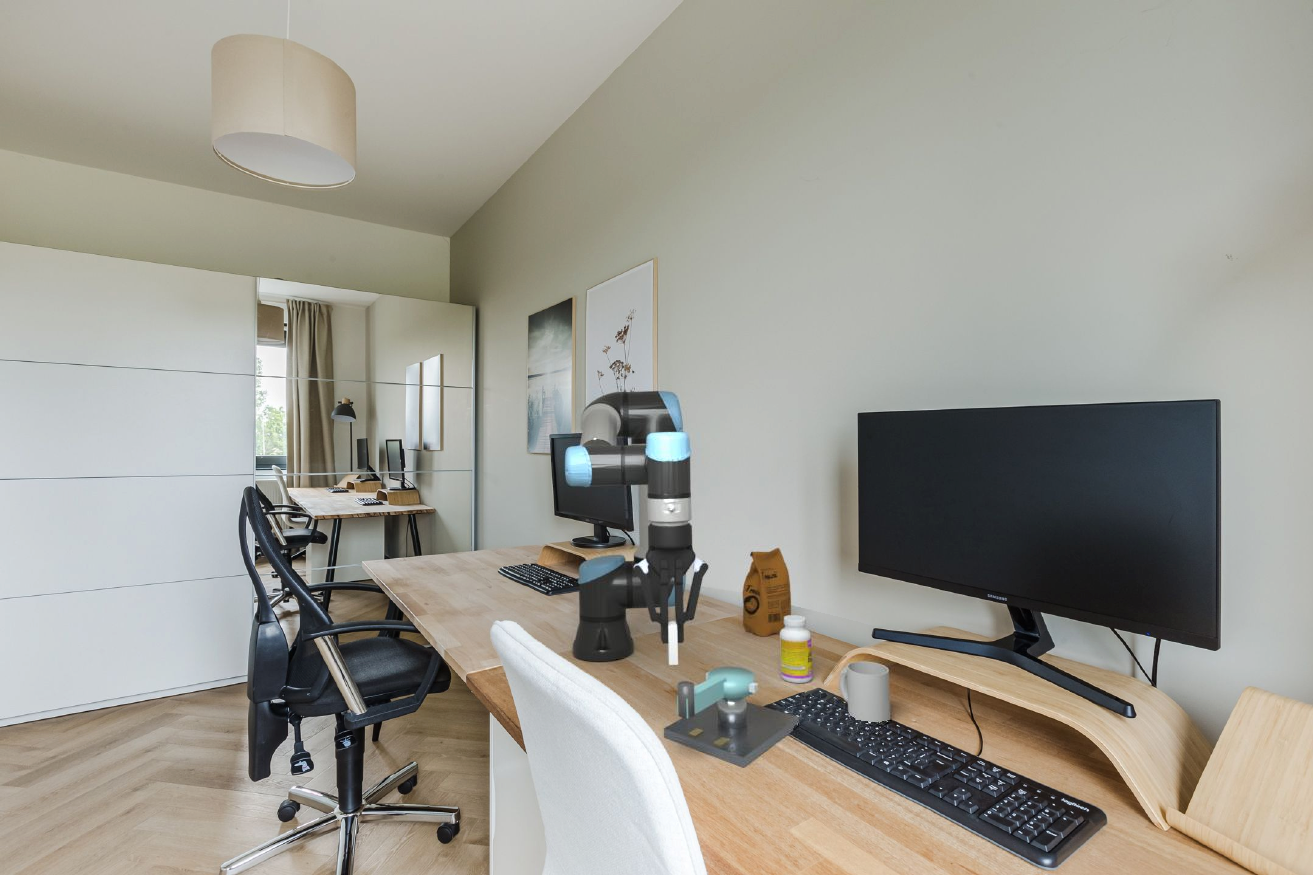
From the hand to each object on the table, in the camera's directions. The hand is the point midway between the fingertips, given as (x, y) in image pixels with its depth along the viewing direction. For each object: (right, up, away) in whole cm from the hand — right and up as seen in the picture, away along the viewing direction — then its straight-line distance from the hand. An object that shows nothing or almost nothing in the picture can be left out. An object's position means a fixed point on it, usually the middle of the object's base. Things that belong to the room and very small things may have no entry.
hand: (672, 661), depth 100 cm
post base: (+10, -13, +2) cm, 17 cm away
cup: (+35, -13, +8) cm, 38 cm away
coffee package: (+28, -15, +62) cm, 69 cm away
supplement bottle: (+27, -14, +26) cm, 40 cm away
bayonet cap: (+7, -6, -1) cm, 9 cm away
